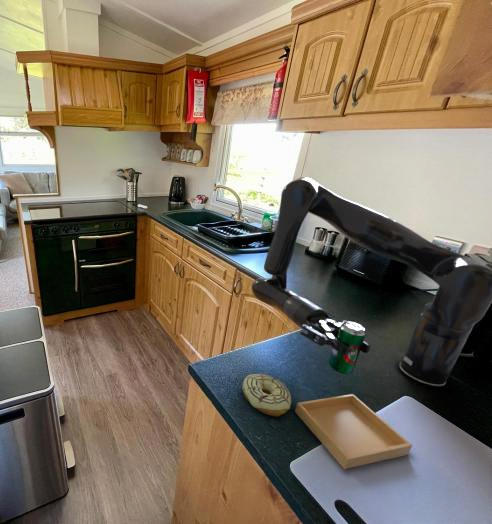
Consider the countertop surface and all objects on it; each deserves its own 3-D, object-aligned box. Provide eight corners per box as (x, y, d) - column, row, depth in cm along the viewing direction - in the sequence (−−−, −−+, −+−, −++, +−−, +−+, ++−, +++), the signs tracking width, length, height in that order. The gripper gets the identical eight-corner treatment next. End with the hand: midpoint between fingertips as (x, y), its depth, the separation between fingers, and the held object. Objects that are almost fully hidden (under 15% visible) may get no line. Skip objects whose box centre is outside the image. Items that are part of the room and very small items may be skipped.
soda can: (329, 358, 74) (342, 317, 70) (353, 367, 71) (368, 325, 67) (326, 368, 70) (339, 326, 66) (351, 378, 67) (366, 334, 63)
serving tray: (349, 402, 69) (352, 393, 68) (408, 454, 57) (412, 445, 56) (294, 411, 66) (297, 402, 65) (344, 469, 54) (348, 459, 53)
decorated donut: (250, 418, 63) (253, 405, 62) (235, 382, 74) (237, 370, 72) (297, 419, 64) (301, 406, 62) (276, 383, 74) (279, 371, 72)
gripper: (284, 303, 78) (336, 340, 63) (328, 299, 81) (388, 334, 66) (279, 327, 81) (327, 368, 65) (322, 322, 84) (378, 361, 68)
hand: (357, 350), depth 66 cm, fingers closed on soda can, 5 cm apart
